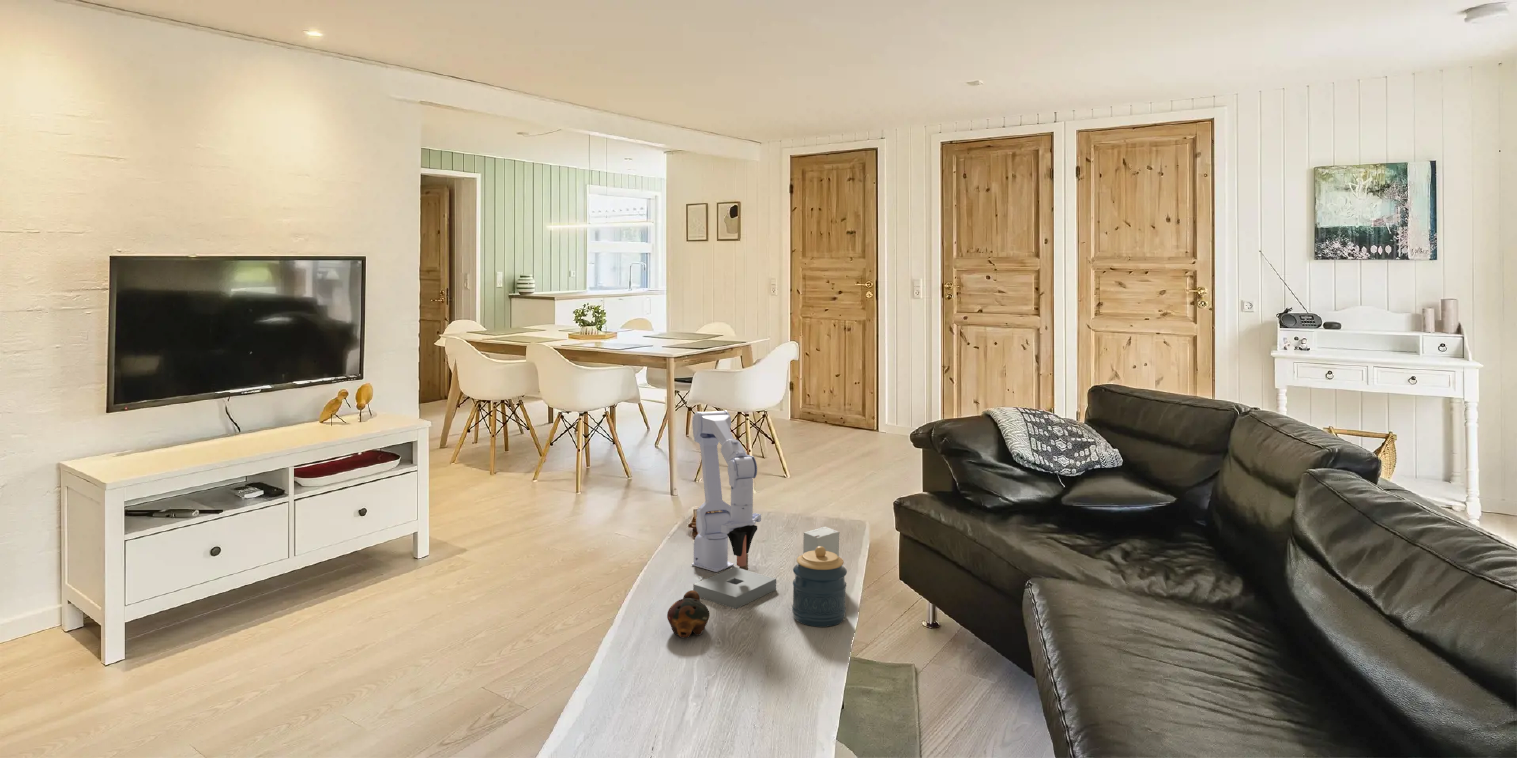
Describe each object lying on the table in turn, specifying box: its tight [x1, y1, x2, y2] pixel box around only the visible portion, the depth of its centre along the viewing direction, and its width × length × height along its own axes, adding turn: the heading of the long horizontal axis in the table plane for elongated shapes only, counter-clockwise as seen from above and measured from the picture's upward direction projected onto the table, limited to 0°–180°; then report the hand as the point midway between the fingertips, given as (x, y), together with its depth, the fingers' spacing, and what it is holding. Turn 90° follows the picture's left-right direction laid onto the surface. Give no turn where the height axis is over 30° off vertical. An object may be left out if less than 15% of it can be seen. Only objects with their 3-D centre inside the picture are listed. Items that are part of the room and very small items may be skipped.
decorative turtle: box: [666, 590, 710, 639], centre depth 195 cm, size 10×15×8 cm, turn 2°
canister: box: [791, 546, 848, 628], centre depth 204 cm, size 13×13×18 cm
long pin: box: [736, 535, 746, 567], centre depth 220 cm, size 2×2×8 cm
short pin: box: [738, 553, 749, 571], centre depth 237 cm, size 2×2×4 cm
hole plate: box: [692, 566, 777, 610], centre depth 220 cm, size 14×17×3 cm
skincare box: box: [802, 526, 840, 557], centre depth 226 cm, size 8×6×15 cm
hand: (741, 554), depth 220 cm, fingers closed on long pin, 2 cm apart
